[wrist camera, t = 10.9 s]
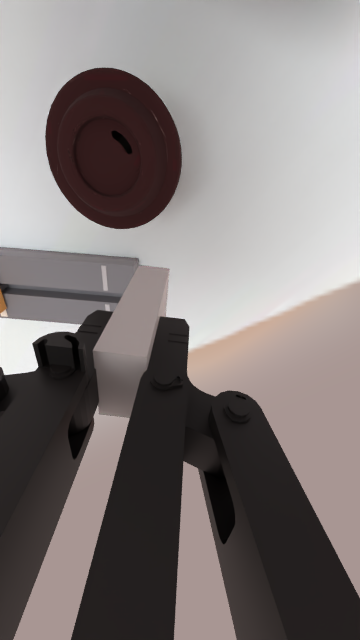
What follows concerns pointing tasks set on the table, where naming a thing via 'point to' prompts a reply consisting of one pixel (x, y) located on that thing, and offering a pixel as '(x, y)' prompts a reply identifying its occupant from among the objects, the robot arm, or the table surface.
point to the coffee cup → (113, 148)
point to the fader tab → (0, 302)
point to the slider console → (61, 284)
